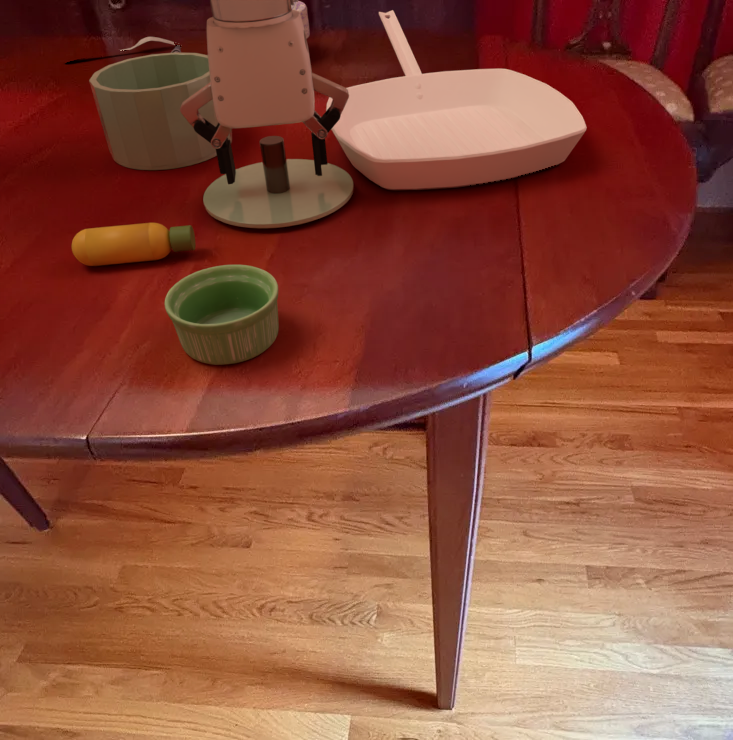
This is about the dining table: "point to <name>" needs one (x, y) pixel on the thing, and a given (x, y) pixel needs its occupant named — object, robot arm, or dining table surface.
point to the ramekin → (225, 313)
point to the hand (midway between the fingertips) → (275, 174)
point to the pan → (453, 125)
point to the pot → (153, 110)
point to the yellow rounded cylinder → (130, 243)
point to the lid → (278, 191)
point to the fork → (150, 40)
